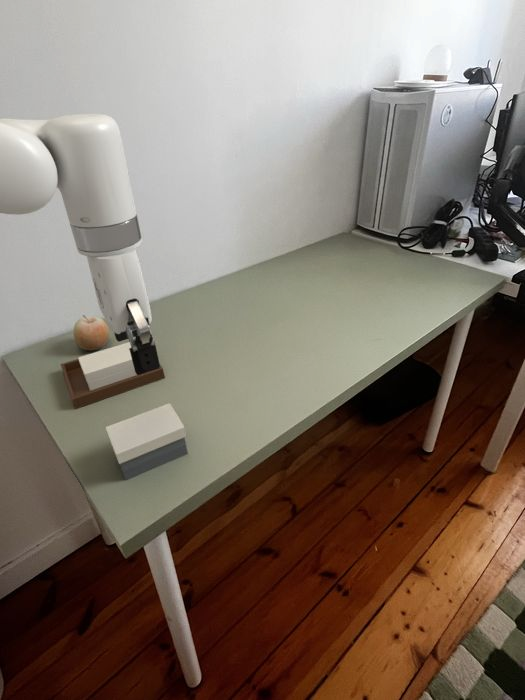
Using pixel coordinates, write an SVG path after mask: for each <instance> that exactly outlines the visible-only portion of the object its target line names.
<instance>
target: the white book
mask: <svg viewBox="0 0 525 700" xmlns="http://www.w3.org/2000/svg"><path fill="white" fill-rule="evenodd" d="M104 428H105V431H106V434H107V437H108V440H109V442H110V446H111V448H112V451H113V453H114V455H115V458H116V460H117V463H118V464H119V465H120V464H121V463H123V462H126V461H128V460H131V459H133V458H135V457H138V456H140V455H143V454H145V453H148V452H150V451H152V450H155V449H157V448H160V447H162V446H165V445H167V444H169V443H172V442H174V441H177V440H179V439H181V438H184V437H185V438H186V437H187V433H186V427H185V426H184V423H183V422H182V421H181V419H180V417H179V415H178V414H177V412H176V411H175V409H174V408H173V406H172V404H171V403H166V404H164V405H161V406H158V407H156V408H152V409H150V410H148V411H145V412H142V413H140V414H137V415H135V416H132V417H129V418H126V419H123V420H120V421H118V422H116V423H113V424H110V425H107V426H105V427H104Z"/></svg>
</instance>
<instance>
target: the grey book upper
mask: <svg viewBox="0 0 525 700" xmlns="http://www.w3.org/2000/svg"><path fill="white" fill-rule="evenodd" d="M184 445H186V446H187V441H186V437H184V438H181V439H179V440H177V441H174V442H172V443H169V444H167V445H165V446H162V447H160V448H157V449H155V450H152V451H150V452H148V453H145V454H143V455H140V456H138V457H135V458H133V459H131V460H128V461H126V462H123V463H121V464H119V466H120V465H121V467H120V469H121V468H122V469H121V472H122V471H124V470H127V469H129V468H131V467H134V466H136V465H139V464H141V463H143V462H146V461H148V460H151V459H153V458H155V457H158V456H160V455H162V454H165V453H167V452H170V451H172V450H174V449H177V448H179V447H181V446H184Z"/></svg>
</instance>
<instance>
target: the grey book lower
mask: <svg viewBox="0 0 525 700" xmlns="http://www.w3.org/2000/svg"><path fill="white" fill-rule="evenodd" d="M186 455H188V446H187V444H186V445H184V446H181V447H179V448H177V449H174V450H172V451H170V452H167V453H165V454H162V455H160V456H158V457H155V458H153V459H151V460H148V461H146V462H143V463H141V464H139V465H136V466H134V467H131V468H129V469H127V470H124V471H122V468H121V465H120V464H119V467H120V469H121V472H122V475H123V477H124V479H125V481H128V480H130V479H132V478H134V477H137V476H139V475H141V474H143V473H146V472H148V471H151V470H153V469H156V468H158V467H160V466H162V465H164V464H166V463H169V462H171V461H174V460H176V459H178V458H181V457H183V456H186Z"/></svg>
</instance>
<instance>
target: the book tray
mask: <svg viewBox="0 0 525 700" xmlns="http://www.w3.org/2000/svg"><path fill="white" fill-rule="evenodd" d="M159 364H160V367H159V368H158V369H155V370H152V371H149V372H147V373H144V374H141V375H136V376H133V377H130V378H127V379H124V380H121V381H118V382H115V383H112V384H109V385H106V386H103V387H100V388H97V389H94V390H91V391H90V390H89V387H88V384H87V382H86V379H85V377H84V374H83V371H82V368H81V365H80V362H79V359H78V358H76V359H73V360H69V361H66V362H63V363H60V367H61V370H62V373H63V376H64V379H65V383H66V385H67V389H68V392H69V395H70V398H71V401H72V404H73V407H74V409H75V410H77V409H81V408H84V407H86V406H89V405H92V404H95V403H97V402H100V401H103V400H105V399H108V398H111V397H114V396H117V395H120V394H123V393H126V392H128V391H129V392H130V391H131V390H134V389H138V388H140V387H144V386H146V385H149V384H152V383H154V382H157V381H160V380H164V379H165V378H166V375H165V372H164V368H163V366H162V365H161V363H160V362H159Z"/></svg>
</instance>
